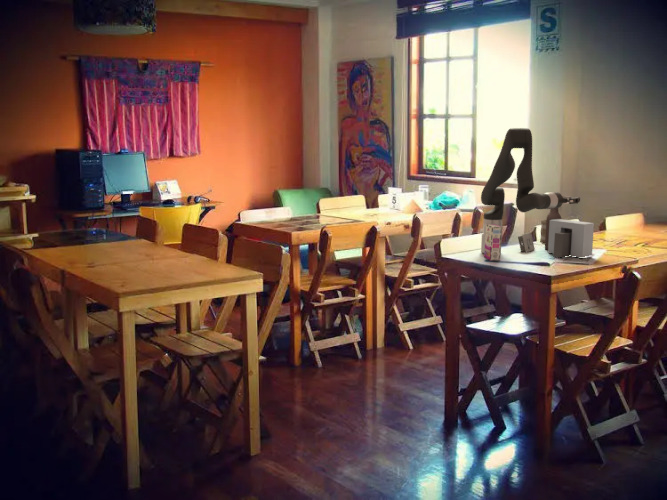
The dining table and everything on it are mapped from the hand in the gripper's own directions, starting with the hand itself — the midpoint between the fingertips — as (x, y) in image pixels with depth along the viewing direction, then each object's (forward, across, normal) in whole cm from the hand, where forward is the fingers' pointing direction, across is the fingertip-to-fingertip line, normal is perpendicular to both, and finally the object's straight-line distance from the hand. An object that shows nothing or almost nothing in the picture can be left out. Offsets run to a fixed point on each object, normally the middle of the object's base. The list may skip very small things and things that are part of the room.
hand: (571, 198), depth 365 cm
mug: (+45, +40, +30) cm, 67 cm away
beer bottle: (+24, +26, +30) cm, 47 cm away
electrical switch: (+10, +32, +30) cm, 45 cm away
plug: (+10, +10, +30) cm, 33 cm away
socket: (+16, +10, +30) cm, 35 cm away
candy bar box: (-24, +26, +30) cm, 46 cm away
